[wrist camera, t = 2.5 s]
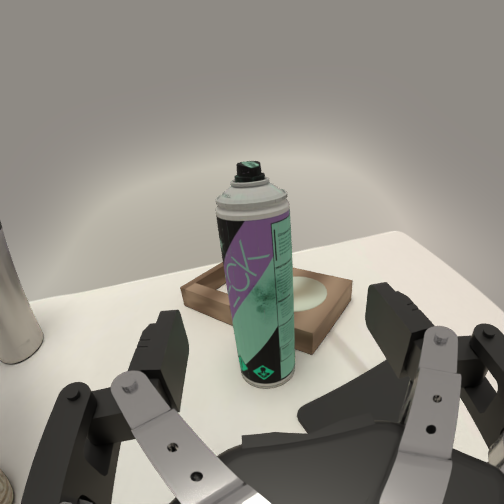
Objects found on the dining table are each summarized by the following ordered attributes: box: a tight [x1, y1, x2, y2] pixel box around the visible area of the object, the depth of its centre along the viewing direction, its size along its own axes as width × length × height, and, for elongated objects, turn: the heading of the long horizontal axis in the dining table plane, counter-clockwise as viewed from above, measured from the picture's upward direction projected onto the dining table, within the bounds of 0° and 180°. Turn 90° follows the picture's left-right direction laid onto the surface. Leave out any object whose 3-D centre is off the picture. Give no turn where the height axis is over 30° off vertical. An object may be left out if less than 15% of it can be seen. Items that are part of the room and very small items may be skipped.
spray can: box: [216, 161, 295, 388], centre depth 24 cm, size 6×6×20 cm
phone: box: [297, 360, 410, 434], centre depth 22 cm, size 7×1×15 cm
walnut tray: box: [180, 262, 353, 354], centre depth 39 cm, size 20×12×3 cm, turn 54°
